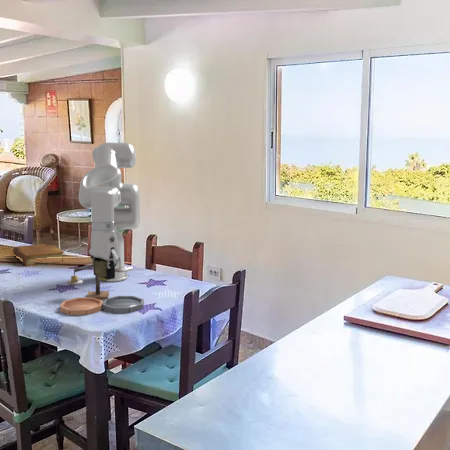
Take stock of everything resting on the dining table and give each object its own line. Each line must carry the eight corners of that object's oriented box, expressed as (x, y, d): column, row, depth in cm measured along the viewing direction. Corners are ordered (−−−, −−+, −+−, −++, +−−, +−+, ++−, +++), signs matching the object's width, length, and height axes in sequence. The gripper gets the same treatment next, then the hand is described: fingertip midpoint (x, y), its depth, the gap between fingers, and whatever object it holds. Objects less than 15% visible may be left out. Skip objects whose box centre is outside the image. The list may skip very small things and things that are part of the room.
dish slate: (126, 297, 209) (126, 293, 209) (151, 306, 200) (151, 301, 200) (95, 306, 199) (95, 301, 198) (119, 315, 189) (119, 310, 189)
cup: (112, 283, 182) (111, 260, 180) (90, 282, 182) (90, 260, 180) (117, 277, 189) (116, 255, 188) (96, 276, 189) (95, 254, 188)
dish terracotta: (87, 299, 206) (87, 295, 206) (110, 308, 197) (110, 303, 197) (53, 308, 196) (53, 303, 195) (76, 317, 186) (75, 313, 186)
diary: (13, 258, 273) (12, 247, 272) (50, 253, 284) (49, 243, 283) (25, 267, 254) (24, 255, 253) (64, 262, 265) (63, 251, 264)
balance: (128, 293, 215) (127, 254, 213) (127, 299, 208) (127, 259, 205) (68, 294, 212) (67, 255, 209) (65, 301, 204) (64, 260, 201)
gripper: (127, 228, 179) (128, 279, 182) (97, 221, 190) (98, 269, 194) (109, 231, 173) (110, 284, 177) (78, 223, 184) (80, 273, 188)
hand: (104, 276), depth 185 cm, fingers closed on cup, 6 cm apart
